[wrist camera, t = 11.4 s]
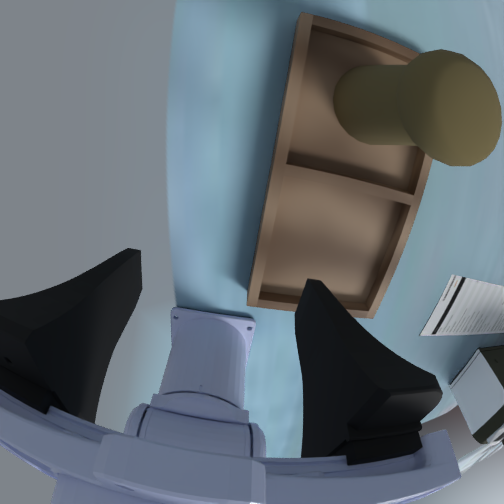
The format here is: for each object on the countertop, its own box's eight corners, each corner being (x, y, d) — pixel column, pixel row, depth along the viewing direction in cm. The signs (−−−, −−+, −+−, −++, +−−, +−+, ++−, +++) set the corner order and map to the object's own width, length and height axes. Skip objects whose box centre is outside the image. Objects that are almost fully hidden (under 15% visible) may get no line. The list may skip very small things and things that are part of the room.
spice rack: (366, 305, 25) (373, 318, 24) (247, 291, 25) (246, 305, 23) (434, 70, 15) (448, 69, 13) (296, 20, 14) (301, 12, 13)
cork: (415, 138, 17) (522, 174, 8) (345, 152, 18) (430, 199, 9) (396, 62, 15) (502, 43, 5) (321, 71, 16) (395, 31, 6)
